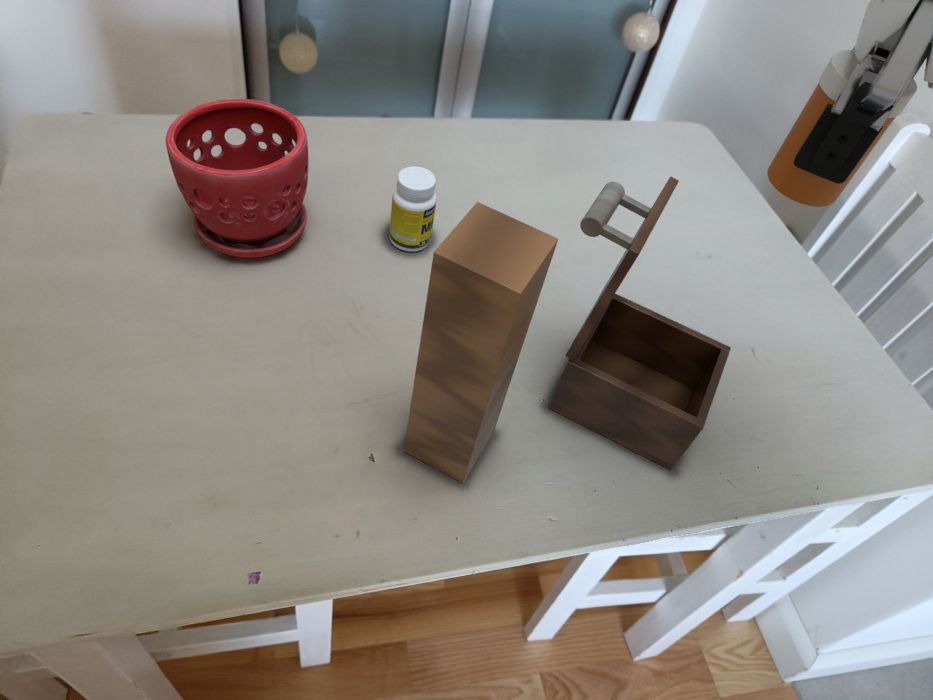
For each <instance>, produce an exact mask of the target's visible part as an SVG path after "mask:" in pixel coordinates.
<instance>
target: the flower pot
mask: <svg viewBox="0 0 933 700" xmlns="http://www.w3.org/2000/svg"><path fill="white" fill-rule="evenodd" d="M297 117H298V116H296V115H294V114H293V113H292V112H291V111H289V110H287V109H285V108H283V107H281V106H279V105H276V104H273V103H270V102H266V101H263V100H257V99H250V98H227V99H218V100H213V101H209V102H205V103H202V104H198V105H197V106H194V107H192V108H189V109H188V110H186V111H184V112H183V113H181V114H180V115H178V116H177V117H176V118H175V119H174V120H173V121H172V123H171V124H170V125H169V127H168V129H167V132H166V135H165V147H166V151H167V156H168V160H169V164H170V167H171V171H172V174H173V177H174V180H175V183H176V185H177V188H178V190H179V191H180V193H181V195H182V197H183V199H184V201H185V203H186V205H187V207H188V208H189V210H190V211H191V212H192V214H193V219H192V220H193V227H194V229H195V231H196V234H197V235H198V236H199V238H200V239H201V240H202V241H203V242H204V243H205V244H206V245H208V246H209V247H210V248H212V249H213V250H215V251H217V252H219V253H221V254H225V255H228V256H232V257H237V258H247V259H248V258H260V257H261V258H262V257H267V256H270V255H274V254H277V253H280V252H281V251H283V250H286V249H287V248H289V247H290V246H292V245H293V244H294V243H295V242H296V241H297V240H298V238H300V236H301V235H302V234H303V232H304V230H305V227H306V224H307V220H308V219H307V218H308V212H307V209H306V206H305V204H304V200H305V197H306V193H307V188H308V180H309V144H308V143H309V142H308V136H307V131H306V128H305V126H304V125H303V123H302V122H301V120H300V119H298V118H297ZM252 125H258V126H260V127H261V128H262V131H261V132H256V131H255V130H253V128H252ZM231 129H236V130H239V131H241V132H242V133H243V134H244V136H245V139H244V142H242V143H240V144H233V143H230V142H228V140H226V137H225V136H226V132H228V130H231ZM208 131H210V133H211V136H210V138H209V140H207V141H204V140H203V135H204V134H205V133H206V132H208ZM273 134H276V135H278V136H279V137H280V140H281V143H278V142H277V141H275V139H274V137H273ZM188 142H189V145H188ZM261 142H262V143H264V144H265V146H266V148H262V147H261V146H260V144H259V143H261ZM293 142H294V143H295V145H294V143H293ZM216 146H220V150H221V152H220V153H219V154H218V155H215V156H214V155H213V154H212V150H213V148H214V147H216ZM198 150H199V153H200V154H199V157H198V158H197V159H195V152H196V151H198ZM286 152H287V154H286Z"/></svg>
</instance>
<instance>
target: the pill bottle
mask: <svg viewBox="0 0 933 700" xmlns="http://www.w3.org/2000/svg"><path fill="white" fill-rule="evenodd" d="M873 57H874V58H876V59H879V60H882V61H884V62H885V61H886V59H885V58H883V57H880V56H877V55H875V54H874V55H873ZM858 62H859V60H858V58H857V57H856V54H855V51H854V50H853V49H843V50H839V51H837V52H835V53H834V54H833V55H832V56H831V57H830V59H829V61H828V62H827V64H826V66H825V68H824V69H823V71H822V73H821V74H820V76H819V79H818V81H819V82H818V83H817V85H816V86H815V88H814V89H813V91H812V94H811V95H810V97H809V98H808V100H807V101H806V103H805V105H804V107H803V109H802V110H801V112H800V113H799V115H798V117H797V119H795V120H796V121H795V122H794V123H793V124H792V127H791V129H790V130H789V132H788V134H787V136H786V137H785V138H784V141H783V142H782V144H781V146H780V147H779V149H778V151H777V153H776V154H775V156H774V157H773V158H772V161H771V162H770V164H769V166H768V168H767V170H766V171H767V173H766V174H767V178H768V180H769V182H770V184H771V185H772V186H773V187H774V188H775V189H776V190H777V191H778V192H779V193H780V194H782V196H784V197H786V198H788V199H789V200H791V201H794V202H796V203H798V204H801V205H804V206H808V207H814V208H822V207H828V206H830V205H833V204H834V203H836V201H837V200H838V198H839V197H840V195H841V194H842V193H843V191H844V190H845V189H846V188H847V186H848V184H849V183H850V182H851V180H852V179H853V178H854V177H855V174H856V173H857V172H858V170H859V169H860V168H861V167H862V165H863V163H864V162H865V161H866V160H867V158H868V157H869V156H870V154H871V153H872V151H873V150H874V148H875V147H876V145H877V144H878V143H879V141H880V140H881V139H882V137H883V136H884V134H885V133H886V132H887V130H889V129H888V128H889V127H890V126H891V125H892V123H893V122H894V120H895V119H896V117H898V116H899V115H900V114H901V113H902V112H903V111H904V110H905V108H906V107H907V105H908V104H909V102H910V101H911V99H912V98H913V97H914V96H915V94H916V93H917V90H918V84H917V82H916V80H915V79H914V78H913V80H912V82H911V83H910V84H909V86H908V88H907V89H906V91H905V92H904V94H903V95H902V97H901V98H900V100H899V102H898V103H897V105H896V106H895V108H894V109H893V111H892V112H891V114H890V116H889V117H888V119H887V120H886V122H885V123H884V125H883V128H882V130H881V131H880V133H879V134H878V136H877V137H876V138H875V140H874V141H873V143H872V144H871V145H870V147H869V148H868V150H867V151H866V152H865V154H864V155H863V157H862V158H861V159H860V161H859V162H858V164H857V165H856V167H855V168H854V169H853V171H852V172H851V174H850V175H849V176H848V178H847V179H846V181H845V182H843V183H840V184H837V183H834V182H832V181H829V180H827V179H824V178H822V177H819V176H817V175H815V174H812V173H810V172H807V171H805V170H802V169H800V168H797V167H796V166H795V165H794V159H795V156H796V154H797V153H798V151H799V150H800V148H801V146H802V145H803V143H804V142H805V140H806V138H807V137H808V135H809V133H810V132H811V130H812V129H813V127H814V125H815V124H816V122H817V121H818V119H819V117H820V116H821V114H822V112H823V111H824V109H825V108H826V106H827V104H828V103H829V104H831V105H834V103H835V101H836V100H837V98H838V96H839V94H840V93H841V91H842V89H843V88H844V86H845V84H846V83H847V81H848V79H849V77H850V76H851V74H852V72H853V71H854V69H855V67H856V66H857V64H858ZM876 76H877V74H875V73H872V72H869V71H867V72H866V74H865V76H864V77H863V79H862V81H861V82H860V84H859V86H861V85H862V84H863V83H864V82H868V83H871V82H872V80H873V79H874V78H875V77H876Z"/></svg>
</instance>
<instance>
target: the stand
mask: <svg viewBox="0 0 933 700" xmlns="http://www.w3.org/2000/svg"><path fill="white" fill-rule="evenodd" d="M558 242H559V238H557V237H556V236H553V235H551V234H549V233H547V232H544V231H542V230H540V229H538V228H536V227H534V226H532V225H530V224H527V223H525V222H523V221H521V220H519V219H516V218H514V217H512V216H510V215H508V214H506V213H504V212H502V211H499V210H496V209H494V208H493V207H490V206H488V205H486V204H483V203H482V202H480V201H476V203H475V204H474V205H473V206H472V207H471V208H470V209H469V210H468V212H467V213H466V214H465V215H464V217H462V219H461V220H460V221H459V222H458V223H457V225H456V226H455V227H454V228H453V229H452V230H451V231H450V233H449V234H448V235H447V236H446V237H445V238H444V239H443V241H442V242H441V243H440V244H439V245H438V246H437V247H436V249H435V250H434V251H433V254H432V259H431V260H432V261H431V266H430V267H431V268H430V275H429V280H428V287H427V293H426V294H427V295H426V302H425V308H424V314H423V320H422V327H421V334H420V340H419V348H418V354H417V360H416V366H415V372H414V379H413V386H412V391H411V398H410V399H411V400H410V404H409V405H410V406H409V413H408V417H407V418H408V419H407V426H406V432H405V438H404V439H405V440H404V445H403V452H405V453H406V454H409V455H410V456H412V457H414V458H416V459H417V460H419V461H421V462H423V463H425V464H426V465H428V466H430V467H432V468H433V469H436V470H437V471H438V472H441V473H443V474H444V475H446V476H448V477H450V478H452V479H453V480H456V481H457V482H459V483H461V484H464V482H465V481H466V480H467V478H468V476H469V475H470V473H471V471H472V469H473V468H474V466H475V465H476V463H477V461H478V459H479V458H480V456H481V455H482V453H483V451H484V450H485V448H486V446H487V445H488V443H489V441H490V440H491V438H492V436H493V435H494V432H495V429H496V426H497V424H498V421H499V417H500V414H501V412H502V409H503V405H504V402H505V399H506V397H507V393H508V390H509V387H510V384H511V382H512V379H513V375H514V372H515V369H516V366H517V364H518V361H519V358H520V354H521V352H522V349H523V346H524V343H525V340H526V338H527V334H528V332H529V329H530V326H531V323H532V319H533V316H534V314H535V310H536V307H537V304H538V302H539V298H540V297H541V293H542V290H543V286H544V283H545V281H546V278H547V275H548V271H549V269H550V265H551V262H552V260H553V257H554V254H555V251H556V247H557V245H558Z"/></svg>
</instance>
